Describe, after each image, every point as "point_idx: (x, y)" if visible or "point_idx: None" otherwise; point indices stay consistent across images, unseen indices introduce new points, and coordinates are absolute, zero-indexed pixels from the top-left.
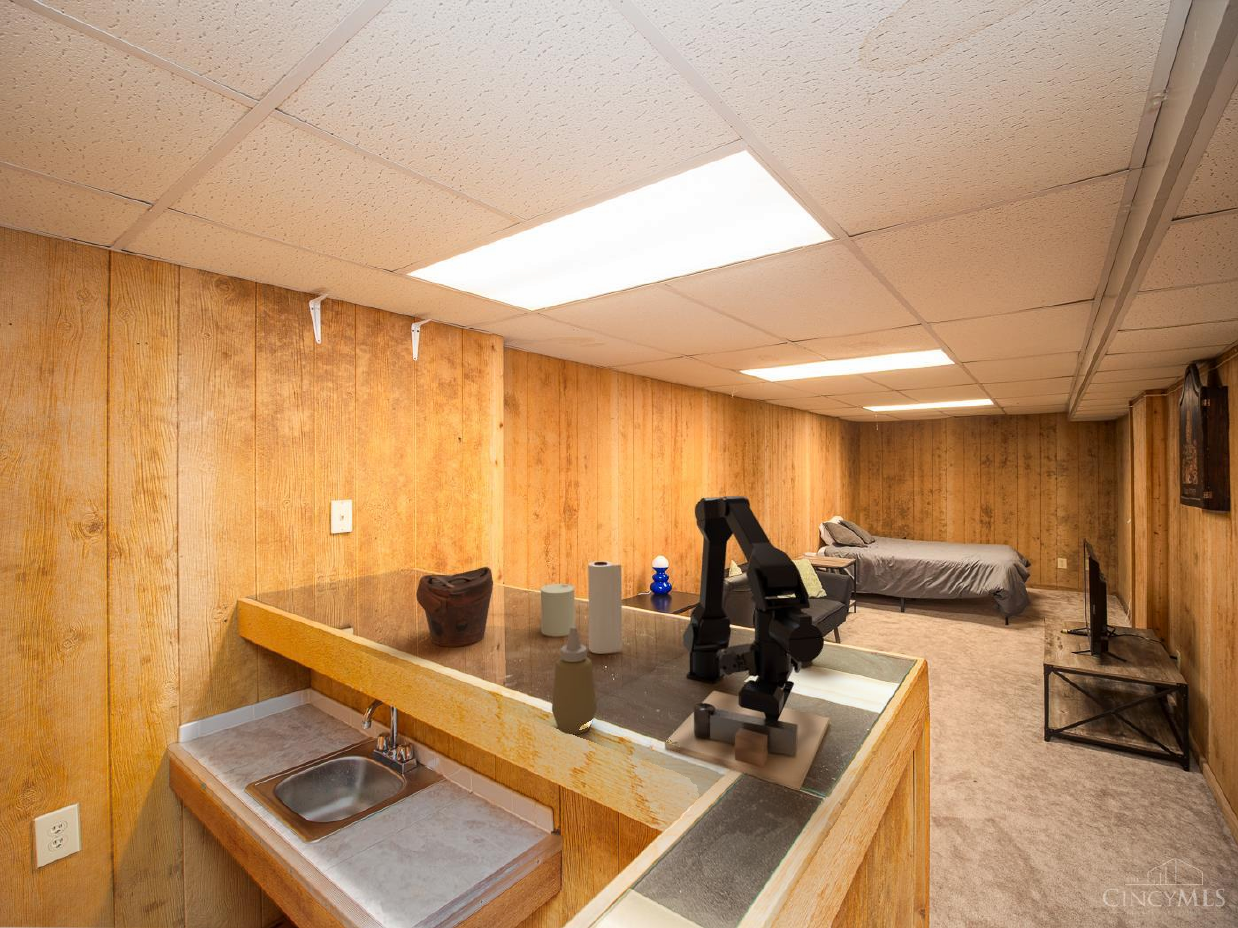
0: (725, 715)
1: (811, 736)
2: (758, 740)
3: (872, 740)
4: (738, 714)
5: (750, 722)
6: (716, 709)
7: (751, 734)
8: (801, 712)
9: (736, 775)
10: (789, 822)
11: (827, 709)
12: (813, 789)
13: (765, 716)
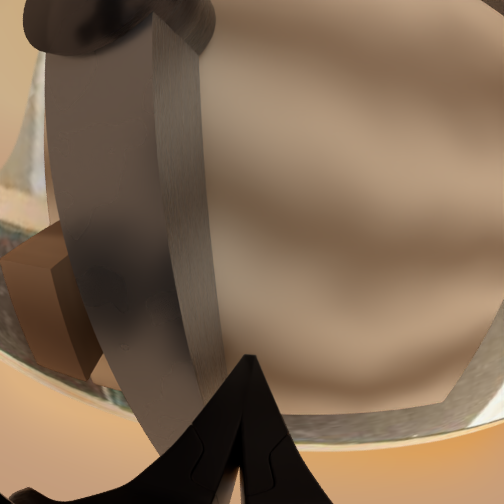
0: (82, 144)
1: (341, 400)
2: (34, 352)
3: (373, 448)
4: (147, 236)
5: (97, 328)
6: (141, 35)
7: (45, 326)
8: (474, 349)
9: (46, 227)
10: (18, 347)
11: (494, 369)
12: (121, 392)
13: (216, 393)
